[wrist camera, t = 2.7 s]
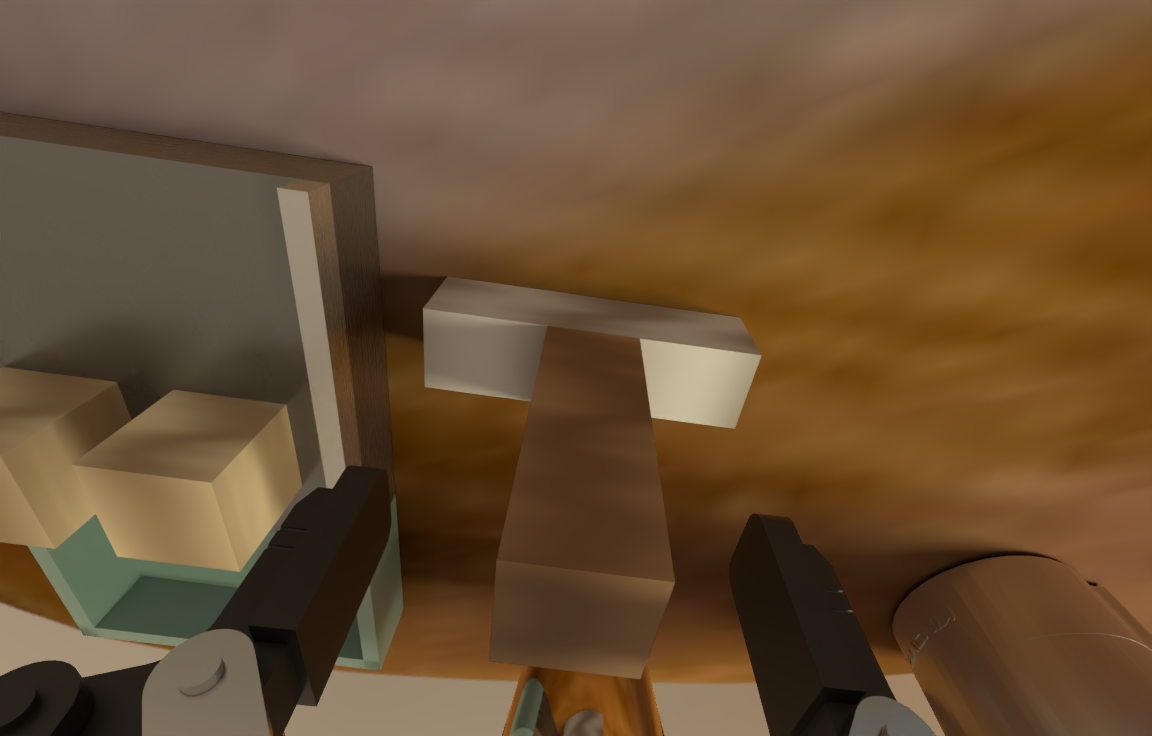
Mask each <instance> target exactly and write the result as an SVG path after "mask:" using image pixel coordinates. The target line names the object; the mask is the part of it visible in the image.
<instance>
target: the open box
mask: <svg viewBox="0 0 1152 736" xmlns="http://www.w3.org/2000/svg"><path fill="white" fill-rule="evenodd" d="M1 367H7V368H15V369H22V370H30V371H37V372H45V373H52V374H60V375H67V376H75V377H82V378H90V379H97V380H105V381H112V382H117V384H118V386H119V389H120V391H121V394H122V396H123V399H124V402H125V404H126V407H127V409H128V412H129V414H130V417H131V419H132V420H133V419H134V418H136V417H137V416H138V415H140V414H141V413H142V412H144V411H145V410H146V409H148V408H149V407H151V406H152V405H153V404H155V403H156V402H157V401H159V400H160V399H161V398H163V397H164V396H166V395H167V394H168V393H170V392H171V391H172V390H180V391H188V392H195V393H203V394H210V395H218V396H225V397H233V398H240V399H248V400H255V401H263V402H270V403H278V404H285V405H286V406H287V411H288V416H289V421H290V426H291V431H292V436H293V441H294V446H295V452H296V457H297V462H298V467H299V472H300V477H301V482H302V487H301V489H300V490H299V492H298V493H297V494H296V496H295V497H294V498H293V500H292V501H291V502H290V504H289V505H288V507H287V508H286V509H285V511H284V512H283V513H282V515H281V516H280V518H279V519H278V520H277V522H276V523H275V524H274V526H273V527H272V528H271V530H270V531H269V532H275V533H276V532H277V530H278V531H279V530H280V526H281V525H282V523H283V522H284V520H285V519H286V517H287V516H288V514H289V513H290V511H291V510H292V509H293V507H294V506H295V504H297V503H298V502H299V501H300V500H302V499H303V498H304V497H306V496H307V495H308V494H310V493H311V492H312V491H314V490H315V489H316V488H317V487H322V488H331V489H333V487H334V486H335V484H336V482H337V481H338V479H339V478H340V476H341V474H342V473H343V471H344V470H345V469H346V467H348V466H349V465H354V466H362V467H371V468H379V469H385V470H386V471H387V473H388V482H389V493H390V505H391V503H392V501H393V499H394V497H395V495H396V493H395V479H394V466H393V452H392V438H391V424H390V410H389V396H388V382H387V368H386V354H385V340H384V326H383V312H382V298H381V284H380V270H379V256H378V242H377V228H376V214H375V200H374V186H373V172H372V167H371V166H365V165H358V164H351V163H344V162H337V161H330V160H323V159H317V158H310V157H303V156H296V155H289V154H282V153H276V152H269V151H262V150H255V149H248V148H241V147H235V146H228V145H221V144H214V143H207V142H200V141H194V140H187V139H180V138H173V137H166V136H159V135H153V134H146V133H139V132H132V131H125V130H118V129H112V128H105V127H98V126H91V125H84V124H77V123H70V122H64V121H57V120H50V119H43V118H36V117H29V116H23V115H16V114H9V113H2V112H0V368H1Z"/></svg>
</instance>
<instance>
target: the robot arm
mask: <svg viewBox="0 0 1152 736" xmlns="http://www.w3.org/2000/svg"><path fill="white" fill-rule="evenodd" d="M391 522H392V516H391V505H390V493H389V482H388V473H387V471H386V470H385V469H379V468H371V467H362V466H354V465H349V466H348V467H346V469H345V470H344V471H343V473H342V474H341V476H340V478H339V479H338V481H337V482H336V484H335V486H334V487H333V489H331V488H322V487H317V488H316V489H315V490H314V491H312V492H311V493H310V494H308V495H307V496H306V497H304V498H303V499H302V500H300V501H299V502H298V503H297V504H295V506H294V507H293V509H292V510H291V511H290V513H289V514H288V516H287V517H286V519H285V520H284V522H283V523H282V525H281V526H280V530H279V531H278V530H277V532H276V533H275V535H274V536H273V538H272V539H271V541H270V542H269V544H268V548H267V549H264V551H263V552H262V554H261V555H260V557H259V558H258V560H257V561H256V563H255V564H254V565H253V567H252V568H251V570H250V571H249V573H248V574H247V576H246V577H245V579H244V580H243V582H242V583H241V584H240V586H239V587H238V589H237V590H236V592H235V593H234V595H233V596H232V598H231V599H230V600H229V602H228V603H227V605H226V606H225V608H224V609H223V611H222V612H221V614H220V615H219V617H218V618H217V619H216V621H215V622H214V623H213V624H212V626H211V627H210V628H209V629H208V630H207V631H206V632H204V633H201V634H198V635H196V636H194V637H192V638H190V639H188V640H186V641H185V642H183V643H181V644H180V645H178V646H177V647H175V648H174V649H173V650H171V651H170V652H169V653H168V654H167V655H166V656H165V657H164V658H163V659H162V660H159V661H157V662H153V663H150V664H146V665H142V666H137V667H132V668H127V669H123V670H117V671H113V672H108V673H103V674H98V675H93V676H89V677H84V678H82V677H81V675H80V674H79V673H78V671H77V670H76V668H74V667H73V666H72V665H71V664H68V663H66V662H63V661H55V660H54V661H42V662H36V663H32V664H29V665H26V666H22V667H20V668H17V669H15V670H13V671H10V672H8V673H6V674H4V675H2V676H0V736H285V733H284V730H285V728H286V726H287V724H288V722H289V720H290V718H291V715H292V713H293V711H294V709H295V707H296V705H307V706H317V704H318V702H319V700H320V697H321V695H322V693H323V690H324V688H325V686H326V683H327V681H328V679H329V677H330V674H331V672H332V670H333V667H334V665H335V663H336V660H337V658H338V656H339V654H340V651H341V649H342V647H343V644H344V642H345V640H346V637H347V635H348V633H349V631H350V628H351V626H352V624H353V621H354V619H355V617H356V614H357V612H358V610H359V608H360V605H361V603H362V601H363V598H364V596H365V594H366V591H367V589H368V587H369V585H370V582H371V580H372V578H373V575H374V573H375V571H376V569H377V566H378V564H379V562H380V559H381V557H382V555H383V552H384V550H385V548H386V545H387V542H388V539H389V535H390V530H391ZM730 584H731V589H732V593H733V596H734V600H735V604H736V608H737V612H738V615H739V619H740V623H741V627H742V630H743V634H744V638H745V642H746V646H747V649H748V653H749V657H750V661H751V665H752V668H753V672H754V676H755V680H756V683H757V687H758V691H759V695H760V699H761V702H762V706H763V709H764V713H765V717H766V721H767V725H768V729H769V733H770V736H936V735H935V733H934V732H933V731H932V729H931V728H930V727H929V726H928V725H927V724H926V722H925V721H924V720H923V719H922V718H920V717H919V716H918V715H917V714H916V713H915V712H913V711H912V710H911V709H910V708H908V707H907V706H904V705H903V704H901V703H900V702H898V701H897V700H896V699H895V697H894V695H893V693H892V691H891V689H890V687H889V685H888V683H887V681H886V679H885V677H884V675H883V673H882V671H881V668H880V666H879V664H878V662H877V660H876V658H875V656H874V654H873V652H872V650H871V648H870V645H869V643H868V641H867V639H866V637H865V635H864V633H863V631H862V629H861V627H860V625H859V622H858V620H857V618H856V616H855V615H853V614H852V608H851V606H850V604H849V601H848V599H847V597H846V595H843V589H842V587H841V585H840V583H839V581H838V578H837V576H836V574H835V572H834V570H833V568H832V566H831V565H830V564H829V563H828V562H827V561H826V559H825V558H824V557H823V556H822V555H821V554H820V553H819V552H818V550H817V549H816V548H815V547H814V546H813V545H808V544H802V541H801V539H800V537H799V535H798V532H797V530H796V528H795V525H794V524H793V522H792V520H791V519H789V518H788V517H780V516H771V515H763V514H752V515H751V516H750V517H749V519H748V522H747V524H746V526H745V528H744V531H743V533H742V535H741V538H740V540H739V542H738V544H737V547H736V549H735V551H734V553H733V556H732V558H731V563H730ZM892 629H893V634H894V637H895V639H896V641H897V643H898V645H899V647H900V649H901V651H902V653H903V655H904V656H905V658H906V660H907V662H908V664H909V666H910V668H911V670H912V672H913V674H914V676H915V678H916V680H917V681H918V683H919V685H920V687H921V689H922V691H923V693H924V695H925V697H926V699H927V701H928V703H929V705H930V706H931V708H932V710H933V712H934V715H935V717H936V719H937V721H938V723H939V725H940V727H941V729H942V730H943V732H944V734H945V736H1152V635H1151V634H1150V633H1149V632H1148V631H1147V630H1146V629H1145V628H1144V627H1143V626H1142V625H1141V624H1140V623H1139V622H1138V621H1137V620H1136V619H1135V618H1134V617H1133V616H1132V615H1131V614H1130V613H1129V612H1128V611H1127V609H1126V608H1125V607H1124V606H1123V605H1122V604H1121V603H1120V602H1119V601H1118V600H1117V599H1116V598H1115V597H1114V596H1113V595H1112V594H1111V593H1110V592H1109V591H1108V590H1107V589H1106V588H1104V587H1097V586H1092V585H1089V584H1088V583H1087V582H1086V581H1085V580H1084V579H1083V578H1082V577H1081V576H1080V575H1079V573H1078V572H1077V571H1075V570H1074V569H1072V568H1070V567H1069V566H1067V565H1066V564H1064V563H1061V562H1058V561H1055V560H1052V559H1049V558H1042V557H1035V556H1002V557H995V558H987V559H982V560H978V561H975V562H971V563H967V564H963V565H960V566H958V567H955V568H953V569H950V570H947V571H945V572H943V573H941V574H939V575H937V576H935V577H933V578H931V579H929V580H928V581H926V582H924V583H923V584H922V585H920V586H919V587H918V588H916V589H915V590H914V591H912V592H911V593H910V594H909V595H908V596H907V597H906V598H905V599H904V601H903V602H902V603H901V604H900V606H899V607H898V609H897V611H896V613H895V614H894V619H893V623H892Z"/></svg>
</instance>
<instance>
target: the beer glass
mask: <svg viewBox="0 0 1152 736" xmlns="http://www.w3.org/2000/svg"><path fill="white" fill-rule="evenodd" d="M502 736H664V731H663V727H662V723H661V719H660V715H659V711H658V707H657V703H656V699H655V695H654V691H653V687H652V683H651V678H650V674H649V669H648V665H647V662H646V665H645V667H644V670H643V673H642V676H641V678H640V679H633V678H625V677H617V676H608V675H600V674H592V673H583V672H575V671H566V670H558V669H550V668H541V667H533V666H525V665H523V668H522V671H521V675H520V678H519V681H518V684H517V688H516V691H515V694H514V697H513V700H512V703H511V707H510V710H509V713H508V716H507V720H506V723H505V726H504V730H503V733H502Z"/></svg>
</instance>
